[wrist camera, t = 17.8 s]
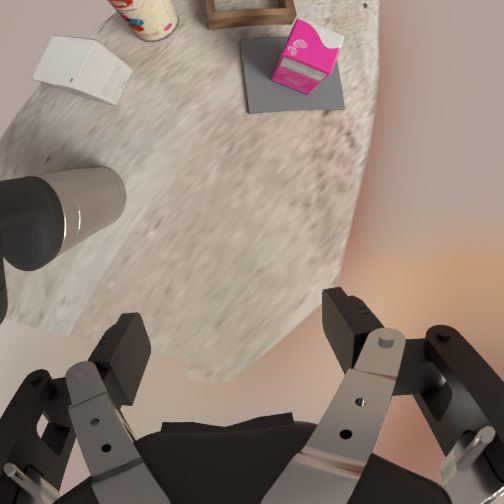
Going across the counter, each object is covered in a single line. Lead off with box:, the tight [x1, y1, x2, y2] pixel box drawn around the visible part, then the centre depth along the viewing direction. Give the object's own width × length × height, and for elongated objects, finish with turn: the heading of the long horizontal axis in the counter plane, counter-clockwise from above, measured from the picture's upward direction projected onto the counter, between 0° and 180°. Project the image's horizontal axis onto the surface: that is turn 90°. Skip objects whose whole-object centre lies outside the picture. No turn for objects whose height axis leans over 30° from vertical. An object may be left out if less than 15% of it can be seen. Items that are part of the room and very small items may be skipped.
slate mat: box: [240, 37, 345, 114], centre depth 34 cm, size 14×12×1 cm
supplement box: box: [271, 18, 344, 95], centre depth 29 cm, size 6×6×12 cm
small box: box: [32, 36, 133, 105], centre depth 27 cm, size 8×6×13 cm
